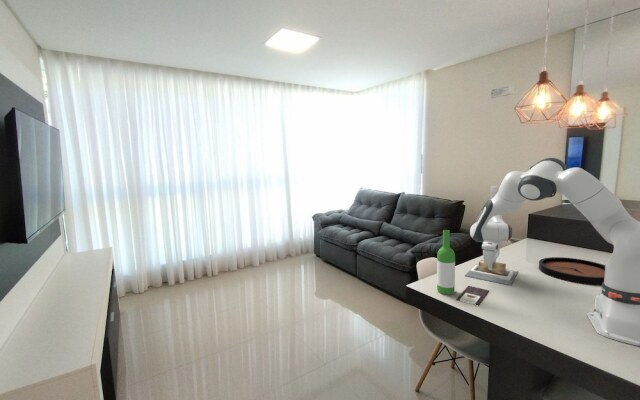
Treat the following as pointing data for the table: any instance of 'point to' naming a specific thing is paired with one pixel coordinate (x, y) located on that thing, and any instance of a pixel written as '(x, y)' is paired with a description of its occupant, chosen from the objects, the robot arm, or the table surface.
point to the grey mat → (492, 275)
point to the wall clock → (573, 270)
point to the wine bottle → (446, 266)
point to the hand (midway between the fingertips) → (491, 267)
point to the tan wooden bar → (497, 267)
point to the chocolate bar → (473, 295)
